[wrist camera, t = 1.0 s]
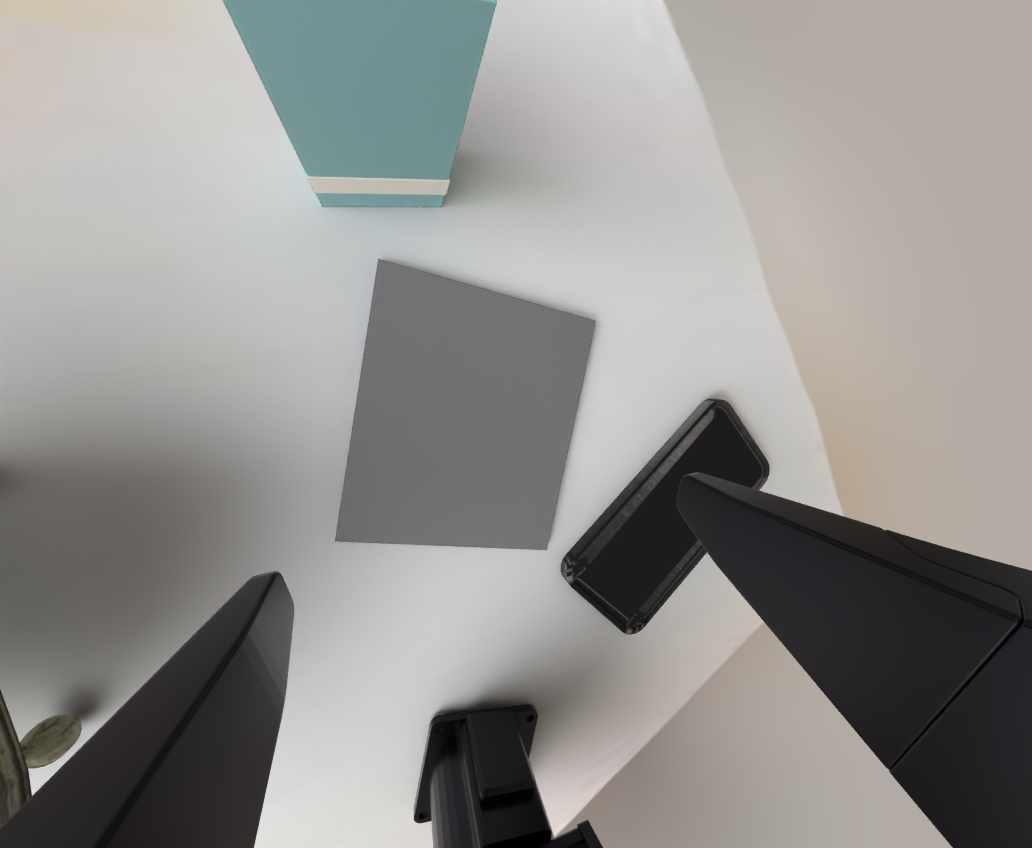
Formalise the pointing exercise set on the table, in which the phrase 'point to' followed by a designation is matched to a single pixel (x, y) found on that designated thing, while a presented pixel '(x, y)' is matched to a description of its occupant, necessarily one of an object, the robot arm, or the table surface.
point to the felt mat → (460, 415)
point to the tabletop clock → (29, 755)
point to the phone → (659, 519)
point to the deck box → (369, 89)
